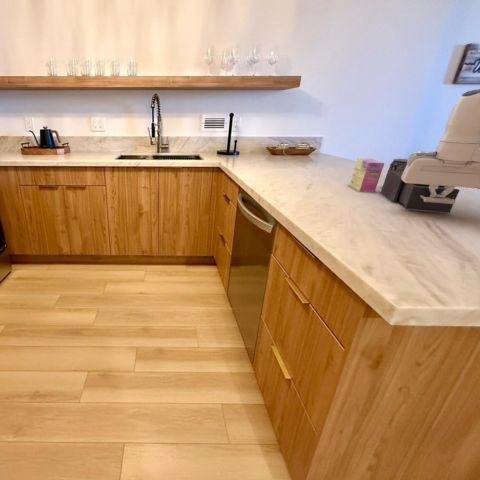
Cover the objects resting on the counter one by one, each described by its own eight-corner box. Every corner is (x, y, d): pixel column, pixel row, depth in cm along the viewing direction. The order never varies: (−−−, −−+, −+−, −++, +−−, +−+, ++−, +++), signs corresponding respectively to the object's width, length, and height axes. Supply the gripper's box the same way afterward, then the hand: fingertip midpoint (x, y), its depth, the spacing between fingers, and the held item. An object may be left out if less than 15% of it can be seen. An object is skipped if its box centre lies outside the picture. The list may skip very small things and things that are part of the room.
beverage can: (387, 191, 115) (397, 161, 110) (379, 187, 122) (388, 158, 117) (407, 192, 114) (418, 161, 109) (398, 188, 120) (408, 158, 115)
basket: (458, 218, 85) (469, 194, 82) (411, 213, 88) (420, 190, 85) (430, 201, 100) (438, 180, 97) (391, 197, 104) (398, 177, 101)
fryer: (437, 207, 97) (448, 180, 93) (392, 203, 101) (401, 177, 97) (419, 196, 109) (428, 172, 105) (380, 193, 113) (388, 169, 109)
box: (375, 193, 113) (384, 162, 108) (359, 192, 114) (368, 162, 109) (363, 186, 122) (372, 158, 117) (349, 186, 123) (356, 158, 118)
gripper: (415, 152, 82) (398, 199, 87) (510, 156, 75) (485, 206, 81) (407, 149, 87) (391, 193, 93) (495, 153, 80) (472, 200, 86)
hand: (435, 200), depth 87 cm, fingers closed, pressing on basket
